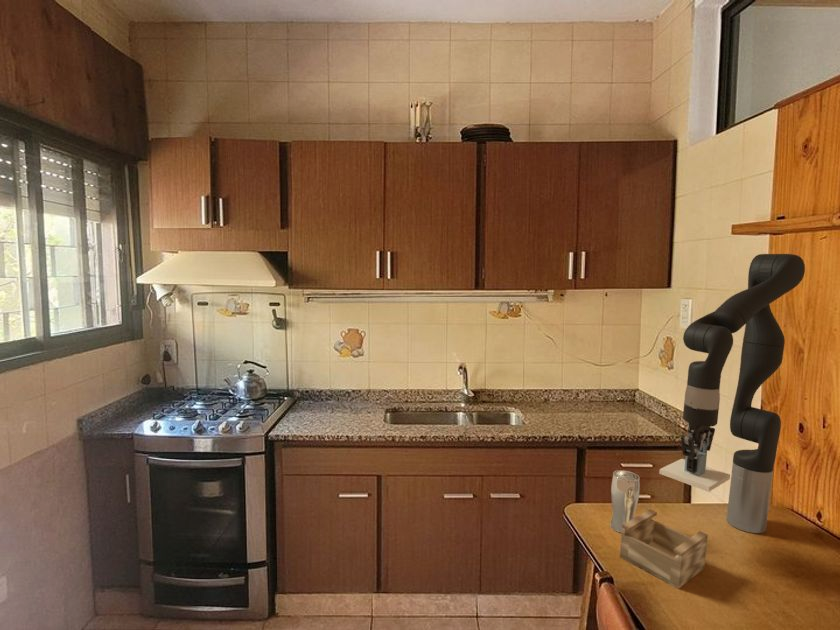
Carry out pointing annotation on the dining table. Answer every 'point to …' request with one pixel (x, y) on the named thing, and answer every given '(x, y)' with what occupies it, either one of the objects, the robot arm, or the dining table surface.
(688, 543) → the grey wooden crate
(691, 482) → the cover plate
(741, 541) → the dining table surface
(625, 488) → the beer glass
